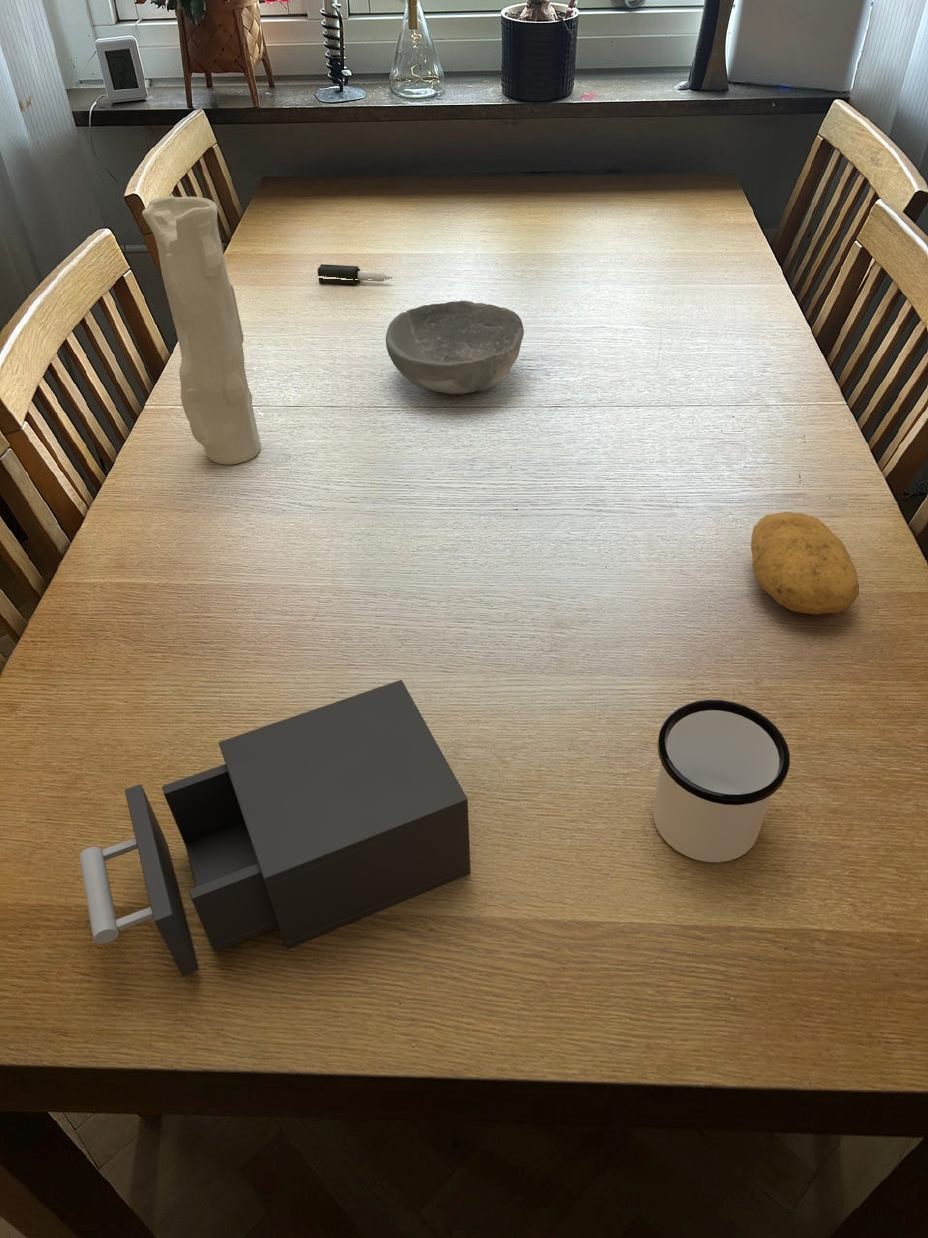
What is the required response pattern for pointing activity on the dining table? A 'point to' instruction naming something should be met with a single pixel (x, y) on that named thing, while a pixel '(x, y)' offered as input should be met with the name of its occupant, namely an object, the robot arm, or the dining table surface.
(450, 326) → the bowl
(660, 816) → the mug
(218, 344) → the vase
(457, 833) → the dark grey drawer box
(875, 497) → the dining table surface
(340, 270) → the black and grey marker
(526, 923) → the dining table surface
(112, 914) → the drawer front with handle
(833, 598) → the potato
